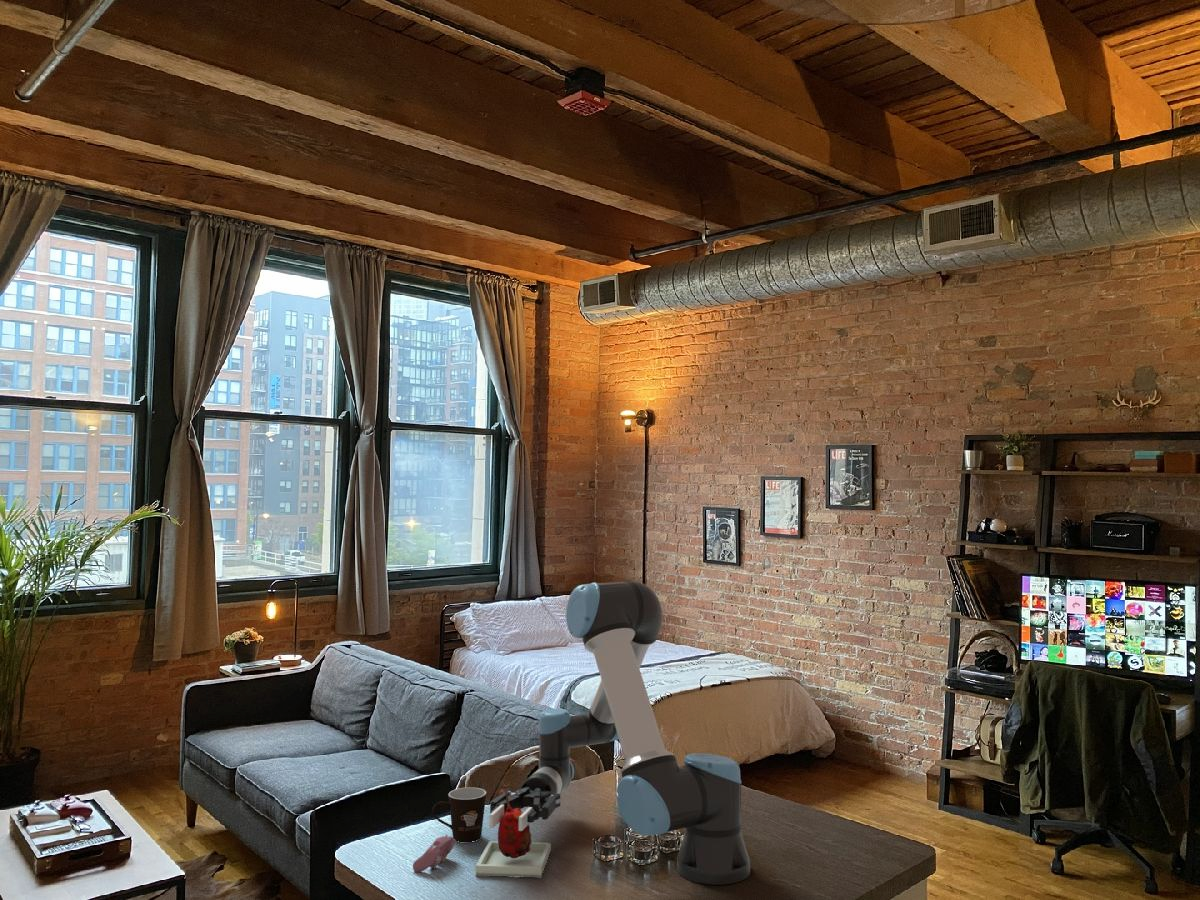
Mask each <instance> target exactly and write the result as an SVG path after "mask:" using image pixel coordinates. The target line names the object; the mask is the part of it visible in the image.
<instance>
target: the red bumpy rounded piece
mask: <svg viewBox="0 0 1200 900" xmlns="http://www.w3.org/2000/svg"><path fill="white" fill-rule="evenodd" d="M500 781H501V783H502V784H503V785H502V786H498V787H499V788H501V789H499V795H501V794H503V792H504V791H505V793H506V801H507V803H508V808H507V809H506V812H505V814H504V815H503V817H502V819H501V821H500V822H499V823H498V829H497V841H498V844H499V849H500V851H501V853H502V854H503V855H504V856H506V857H509V856H510V858H518V857H520V856H523V855H525V854H526V853H527V852H529V851H530V845H531V842H533V840H532V834H531V830H530V823H529V824H528V825H527V826H526V827H525V828H524V829H523V831H519V816H520V815H522V814H523V813H524V812H525V811H522V809H519V808H515V809H514V810H513V809H512V808H511V807H510V805H509V802H508V800H509V797H508V796H507V791H506V789H507V788H508V787H509V786H510V785H511V784H510V783H509V784H507V785H506V784H505V782H504V781H503V780H500Z"/></svg>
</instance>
